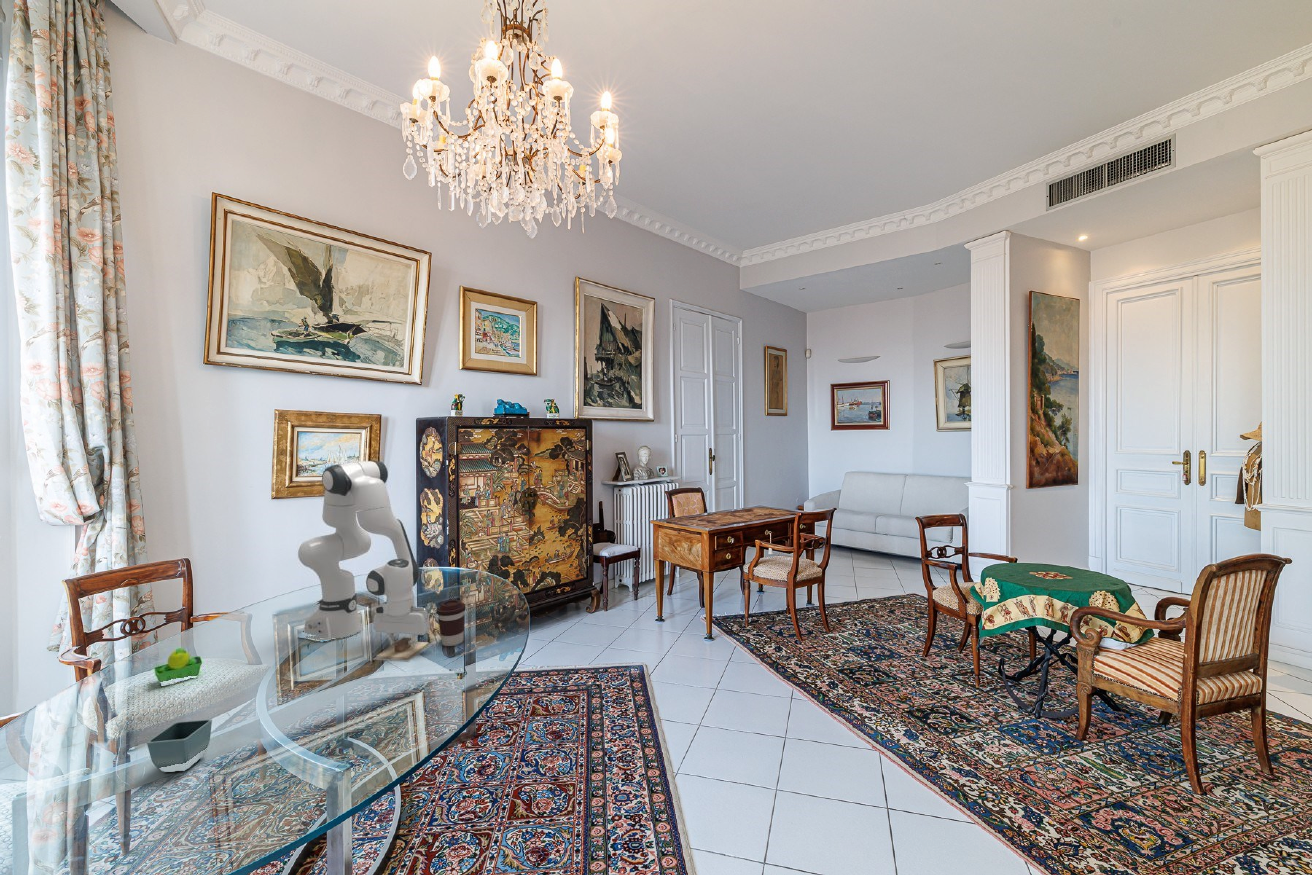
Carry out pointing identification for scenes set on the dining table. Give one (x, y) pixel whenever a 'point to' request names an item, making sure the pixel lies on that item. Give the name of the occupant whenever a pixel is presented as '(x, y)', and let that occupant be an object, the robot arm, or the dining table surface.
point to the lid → (402, 650)
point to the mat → (404, 660)
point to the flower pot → (179, 742)
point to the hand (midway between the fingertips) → (402, 644)
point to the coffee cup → (451, 622)
